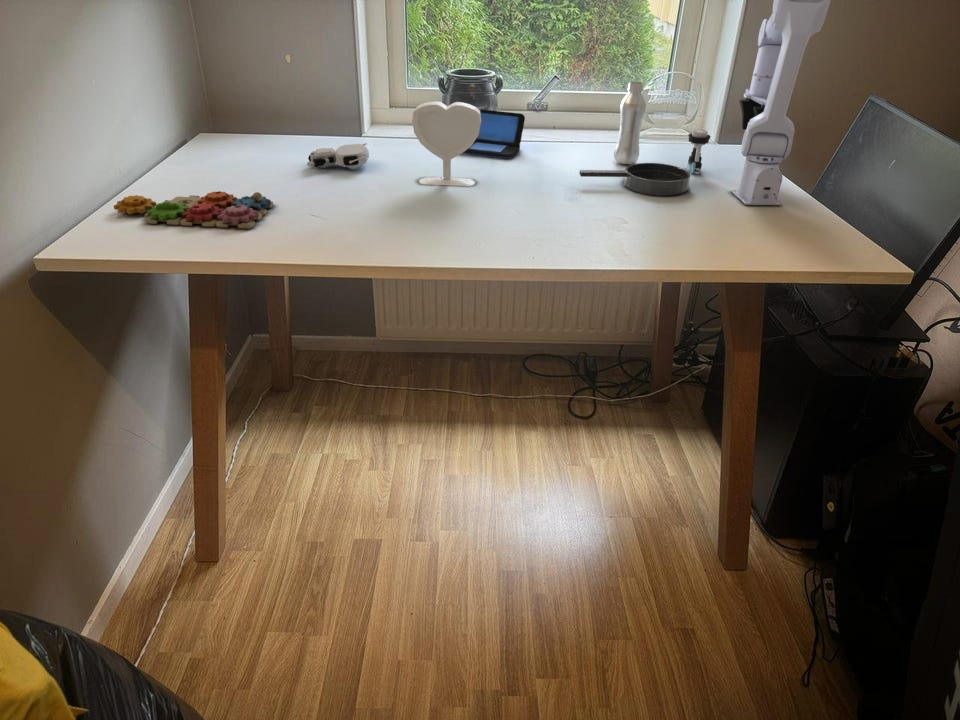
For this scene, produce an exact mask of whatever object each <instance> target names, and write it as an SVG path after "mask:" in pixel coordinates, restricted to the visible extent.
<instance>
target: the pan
mask: <svg viewBox="0 0 960 720" xmlns="http://www.w3.org/2000/svg"><path fill="white" fill-rule="evenodd" d="M625 171H626V172H627V177H623V179H624V181H623V184H624V186H625V187H626V188H628V189H629V190H631V191H633V192H636V193H639V194H643V195H648V196H657V197H671V196H677V195H681V194H683V193H685V192H687V191H688V190H689V185H690V179H691V172H690V171H689V170H688V171H687V169H685V168H683V167H680V166H677V165H672V164H667V163H661V162H660V163H659V162H638V163H634V164H629V165H627V167H625Z"/></svg>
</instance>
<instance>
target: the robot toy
mask: <svg viewBox="0 0 960 720" xmlns="http://www.w3.org/2000/svg"><path fill="white" fill-rule="evenodd" d="M367 144H368V143H362V144H361V143H352V144H344V145H341V146H339V147H337V149H336V150H335V149H334V148H332V147H325V148H324V147H323V148H318V149H316V150H312V151H311V152H310V154H309V155H308V157H307V159H308V162H306V163H307V164H306V165H307V166H309V167H315V168H321V169H327V167H332V166H334V165H336V164H337V165H338V166H339V167H343V168H348V169H350V170H356V169H358V168H359V167H360V166H363V165H364V164H366V163H367V162H368V161H369V159H370V153H369V148H368V147H367Z"/></svg>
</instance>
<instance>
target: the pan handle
mask: <svg viewBox="0 0 960 720" xmlns="http://www.w3.org/2000/svg"><path fill="white" fill-rule="evenodd" d="M579 176H580V177H582V178H583V177H585V178H588V177H589V178H590V177H591V178H596V177H597V178H625V177H627V172H626V169H625V170H624V169H623V170H619V169H618V170H617V169H602V170H601V169H579Z"/></svg>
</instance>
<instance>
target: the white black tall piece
mask: <svg viewBox="0 0 960 720" xmlns="http://www.w3.org/2000/svg"><path fill="white" fill-rule="evenodd" d="M687 137H688V142H689V143H690V144H691V145H693V147H692V151H691V153H690V155H689V156H688V161H687V166H686V171H688V172H689V173H690V174H691V175H694V174H695V175H700V171H701V170H702V166H703V163H702V159H703V157H702V156H701V155H702V153H701V151H702V147H703V146H705V145H706V144H708V143H709V141H710V139H711V135H710V134H708V131H707V130H705V129H693V130H692V132H690V133H688V135H687Z"/></svg>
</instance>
